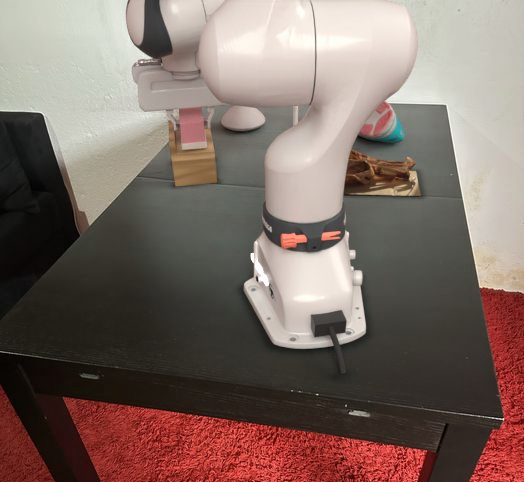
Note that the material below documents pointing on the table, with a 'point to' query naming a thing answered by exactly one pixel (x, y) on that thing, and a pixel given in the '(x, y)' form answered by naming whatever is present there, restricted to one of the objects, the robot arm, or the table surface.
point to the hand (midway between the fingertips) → (192, 129)
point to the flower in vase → (243, 118)
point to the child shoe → (192, 129)
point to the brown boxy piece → (192, 160)
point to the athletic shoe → (383, 125)
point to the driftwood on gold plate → (380, 176)
